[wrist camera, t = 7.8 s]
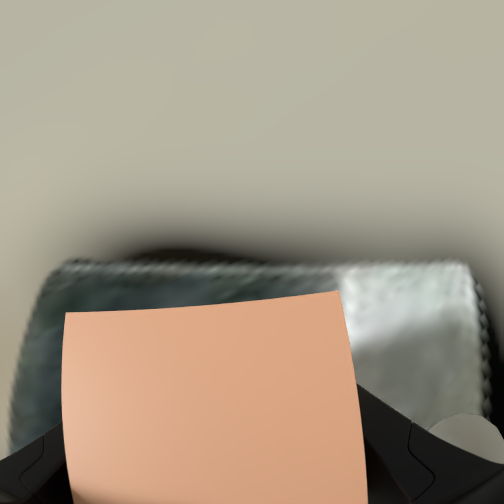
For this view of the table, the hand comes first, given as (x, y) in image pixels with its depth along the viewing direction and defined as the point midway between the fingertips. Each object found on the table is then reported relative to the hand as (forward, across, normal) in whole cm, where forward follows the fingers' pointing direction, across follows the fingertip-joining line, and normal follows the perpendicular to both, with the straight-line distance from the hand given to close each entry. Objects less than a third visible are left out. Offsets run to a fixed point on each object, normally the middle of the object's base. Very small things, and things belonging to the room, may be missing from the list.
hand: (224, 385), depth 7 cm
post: (+4, 0, +6) cm, 7 cm away
